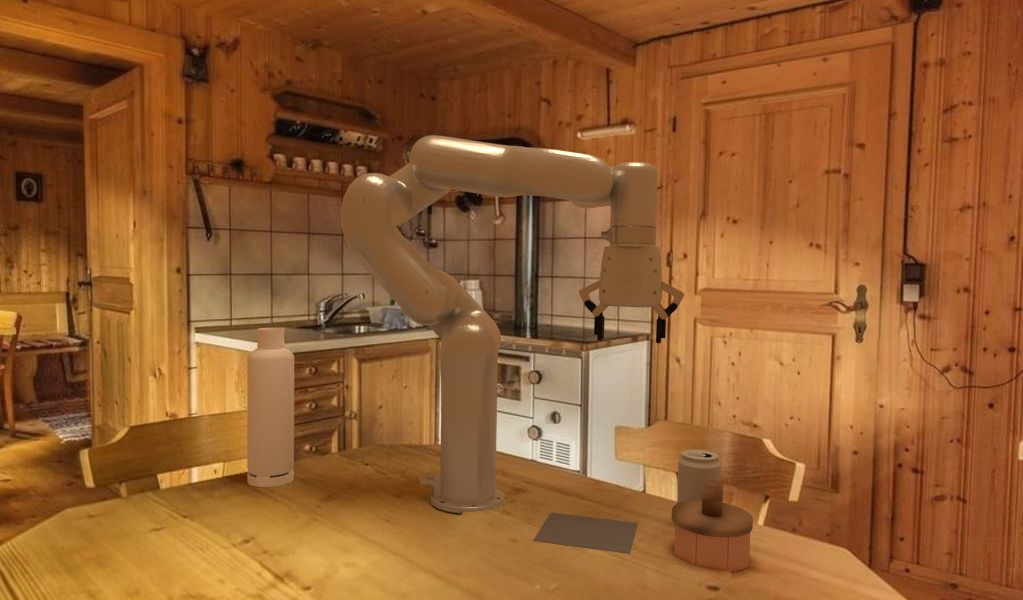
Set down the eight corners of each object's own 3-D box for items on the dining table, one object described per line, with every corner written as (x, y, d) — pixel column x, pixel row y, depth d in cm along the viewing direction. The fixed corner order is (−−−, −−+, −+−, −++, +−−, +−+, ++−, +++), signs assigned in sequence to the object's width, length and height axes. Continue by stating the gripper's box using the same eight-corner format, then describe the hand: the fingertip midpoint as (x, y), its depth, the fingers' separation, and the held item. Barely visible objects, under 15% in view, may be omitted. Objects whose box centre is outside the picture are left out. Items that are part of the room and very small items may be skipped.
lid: (669, 531, 94) (671, 490, 94) (673, 504, 105) (674, 468, 104) (755, 541, 91) (757, 500, 91) (750, 513, 102) (751, 475, 101)
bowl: (673, 566, 95) (674, 530, 94) (676, 538, 104) (677, 506, 104) (750, 576, 92) (751, 539, 92) (745, 547, 102) (747, 513, 101)
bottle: (285, 487, 124) (285, 331, 122) (240, 486, 124) (240, 330, 122) (299, 473, 132) (300, 327, 130) (257, 472, 132) (257, 326, 130)
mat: (533, 544, 101) (533, 540, 101) (550, 515, 113) (550, 512, 113) (629, 557, 97) (629, 553, 97) (637, 526, 109) (637, 522, 109)
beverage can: (720, 539, 105) (723, 460, 104) (676, 534, 106) (679, 457, 105) (716, 523, 111) (719, 449, 110) (675, 519, 112) (678, 446, 111)
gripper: (576, 237, 114) (574, 341, 114) (685, 238, 109) (681, 346, 110) (584, 238, 121) (581, 336, 122) (686, 240, 116) (683, 341, 117)
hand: (629, 341), depth 116 cm, fingers open, 9 cm apart
